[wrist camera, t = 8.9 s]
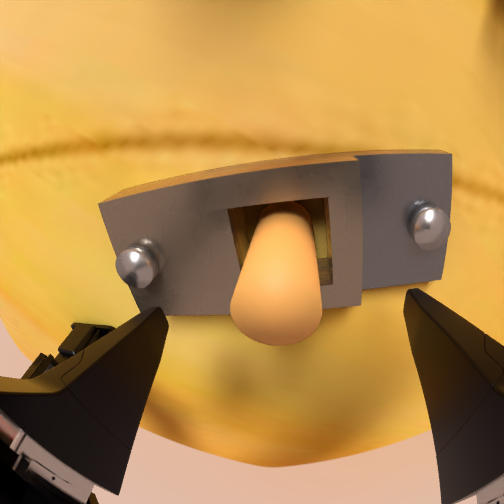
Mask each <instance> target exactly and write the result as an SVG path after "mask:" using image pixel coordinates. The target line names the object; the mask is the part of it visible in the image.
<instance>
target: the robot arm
mask: <svg viewBox="0 0 504 504" xmlns="http://www.w3.org/2000/svg"><path fill="white" fill-rule="evenodd" d="M403 312H404V318H405V322H406V327H407V332H408V336H409V341H410V346H411V351H412V355H413V358H414V361H415V365H416V368H417V371H418V375H419V378H420V382H421V386H422V390H423V394H424V398H425V402H426V406H427V410H428V414H429V419H430V424H431V429H432V434H433V439H434V445H435V451H436V458H437V465H438V472H439V481H440V491H441V503H442V504H455V503H457V502H460V501H462V500H465V499H467V498H469V497H472V496H474V495H477V504H504V346H503V345H501V344H500V343H499V342H497V341H496V340H494V339H493V338H491V337H490V336H489V335H487V334H485V333H484V332H483V331H481V330H480V329H479V328H477V327H476V326H474V325H473V324H471V323H470V322H469V321H467V320H466V319H464V318H463V317H461V316H460V315H458V314H457V313H455V312H454V311H452V310H451V309H449V308H448V307H446V306H445V305H443V304H442V303H440V302H439V301H437V300H436V299H434V298H433V297H431V296H429V295H428V294H426V293H425V292H423V291H422V290H420V289H418V288H415V289H408V290H407V292H406V297H405V303H404V309H403ZM71 328H72V329H73V330H72V331H71V333H70V334H69V335H68V336H67V338H66V339H65V340H64V341H63V343H62V344H61V345H60V346H59V348H58V351H59V354H58V355H57V356H56V358H55V359H54V357H53V356H52V355H51V354H49V356H48V357H47V356H46V355H44V354H43V353H40V355H39V356H38V357H37V358H36V360H35V361H34V362H33V363H32V365H31V366H30V367H29V369H28V370H27V371H26V373H25V374H24V375H23V377H22V378H21V379H16V378H9V377H1V376H0V504H99V503H98V501H97V498H96V496H95V494H94V493H92V492H91V491H92V489H93V486H94V485H96V486H98V487H100V488H102V489H104V490H107V491H109V492H111V493H113V494H115V495H119V493H120V489H121V486H122V482H123V478H124V475H125V471H126V467H127V464H128V460H129V457H130V453H131V450H132V446H133V443H134V440H135V436H136V433H137V430H138V427H139V424H140V420H141V417H142V414H143V411H144V408H145V405H146V402H147V399H148V396H149V393H150V390H151V387H152V384H153V381H154V378H155V375H156V372H157V369H158V367H159V364H160V361H161V357H162V353H163V349H164V345H165V340H166V336H167V332H168V328H169V324H168V321H167V319H166V316H165V314H164V312H163V309H162V308H161V307H160V306H151V307H149V308H147V309H146V310H144V311H143V312H141V313H139V314H138V315H136V316H135V317H133V318H132V319H130V320H129V321H127V322H125V323H124V324H122V325H121V326H119V327H118V328H116V329H114V328H113V327H111V326H106V325H94V324H83V323H73V324H72V325H71Z"/></svg>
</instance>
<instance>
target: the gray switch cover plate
mask: <svg viewBox="0 0 504 504" xmlns="http://www.w3.org/2000/svg"><path fill="white" fill-rule="evenodd" d="M203 172H205V171H201V172H196V173H191V174H186V175H181V176H177V177H172V178H168V179H163V180H159V181H155V182H151V183H147V184H143V185H139V186H135V187H131V188H127V189H124V190H122V191H120V192H118V193H116V194H115V195H113V196H111V197H109V198H107V199H105V200H104V201H102V202H100V203H98V205H99V208H100V212H101V215H102V218H103V221H104V224H105V226H106V229H107V232H108V235H109V238H110V241H111V243H112V246H113V249H114V251H115V254H116V256H117V259H116V270H117V272H118V274H119V276H120V277H121V279H122V280H123V281H124V282H125V283H126V284H128V286H129V288H130V290H131V293H132V295H133V297H134V299H135V301H136V304H137V306H138V308H139V310H140V312H143V311H144V310H146V309H147V308H149V307H151V306H160V307H161V308H162V309H163V312H164V314H165V315H231V313H230V303H231V299H232V296H233V293H234V290H235V288H236V285H237V282H238V279H239V276H240V273H241V270H242V267H243V264H244V261H245V254H244V249H243V245H242V240H241V235H240V230H239V226H238V221H237V216H236V211H235V208H236V207H243V206H251V205H259V204H267V203H276V202H284V201H294V200H303V199H313V198H323V197H326V208H327V220H328V234H329V250H330V270H328V271H318V273H319V282H320V291H321V301H322V309H329V308H340V307H350V306H359V305H361V295H362V268H363V222H362V195H361V179H360V166H359V160H358V159H356V158H355V157H354V156H342V157H329V158H318V159H308V160H299V161H290V162H282V163H274V164H267V165H260V166H253V167H246V168H240V169H234V170H228V171H222V172H216V173H211V174H205V175H200V174H202V173H203ZM199 175H200V176H199Z"/></svg>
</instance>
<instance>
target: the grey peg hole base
mask: <svg viewBox="0 0 504 504" xmlns="http://www.w3.org/2000/svg"><path fill="white" fill-rule="evenodd" d="M342 156H354V157H355V158H356V159H358V160H359V166H360V179H361V195H362V222H363V268H362V290H363V289H372V288H381V287H389V286H398V285H405V284H413V283H420V282H427V281H434V280H441V278H442V273H443V267H444V261H445V255H446V248H447V241H448V237H449V234H450V229H451V223H450V211H451V195H452V154H451V153H448V152H445V151H442V150H376V151H357V152H342V153H329V154H318V155H308V156H299V157H290V158H282V159H274V160H267V161H260V162H253V163H246V164H240V165H234V166H228V167H222V168H217V169H211V170H206V171H205V172H203V173H202V174H200V175H205V174H211V173H216V172H222V171H228V170H234V169H240V168H246V167H253V166H260V165H267V164H274V163H282V162H290V161H299V160H308V159H318V158H329V157H342ZM200 175H199V176H200ZM324 208H325V220H326V233H327V248H328V258H321V259H317V265H318V271H328V270H330V250H329V234H328V220H327V208H326V197H324ZM235 211H236V216H237V221H238V226H239V230H240V235H241V240H242V245H243V249H244V254H245V258H246V255H247V252H248V249H249V243H248V238H247V233H246V228H245V223H244V218H243V213H242V208H241V207H236V208H235Z"/></svg>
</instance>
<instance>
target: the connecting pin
mask: <svg viewBox="0 0 504 504" xmlns="http://www.w3.org/2000/svg"><path fill="white" fill-rule="evenodd" d="M230 313H231V317H232V319H233V321H234V323H235V325H236V326H237V328H238V329H239V330H240V331H241V332H242V333H243V334H245V335H246V336H247V337H249V338H251V339H253V340H255V341H257V342H260V343H263V344H268V345H280V346H281V345H289V344H293V343H297V342H299V341H302V340H304V339H305V338H307V337H308V336H310V335H311V334H312V333H313V332H314V331H315V330H316V329H317V327H318V325H319V324H320V321H321V318H322V301H321V291H320V282H319V273H318V265H317V257H316V249H315V242H314V234H313V227H312V221H311V217H310V215H309V213H308V212H307V210H306V209H305V208H304V207H303V206H301V205H300V204H298V203H296V202H293V201H284V202H276V203H271V204H270V205H268V206H267V207H266V208H265V209H264V210H263V211H262V213H261V215H260V217H259V220H258V223H257V226H256V229H255V232H254V235H253V238H252V241H251V243H250V246H249V249H248V252H247V255H246V258H245V261H244V264H243V267H242V270H241V273H240V276H239V279H238V282H237V285H236V288H235V290H234V293H233V296H232V299H231V303H230Z"/></svg>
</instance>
